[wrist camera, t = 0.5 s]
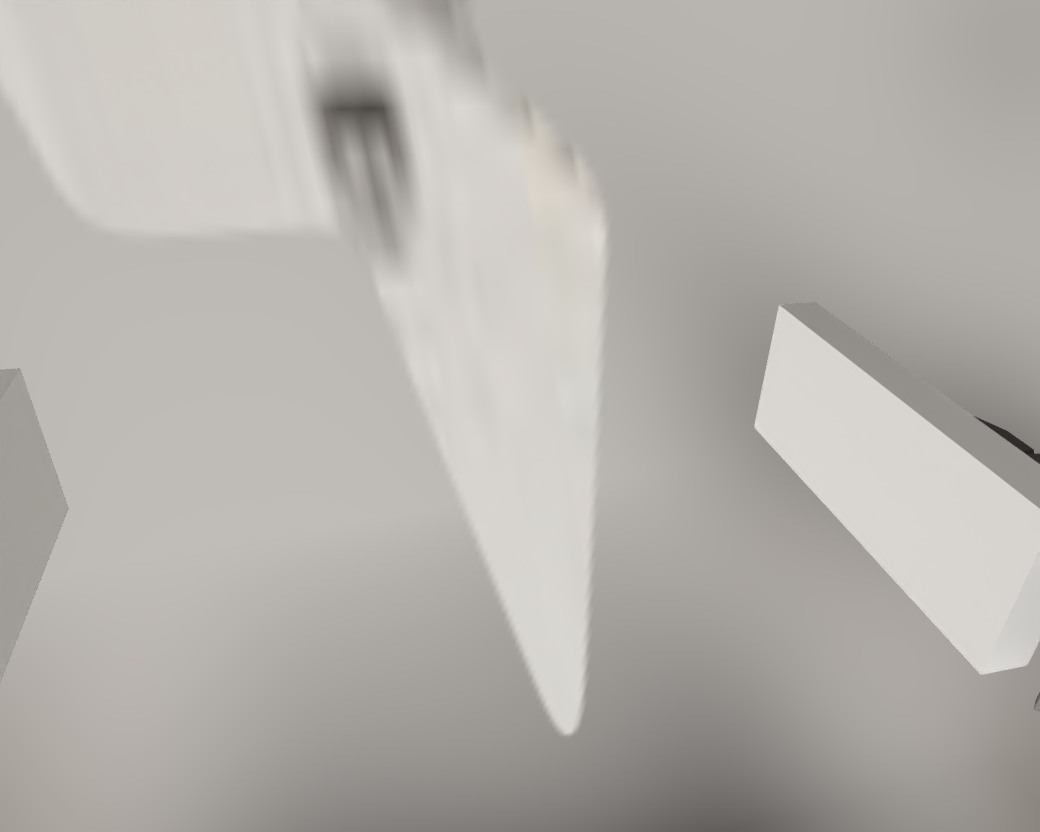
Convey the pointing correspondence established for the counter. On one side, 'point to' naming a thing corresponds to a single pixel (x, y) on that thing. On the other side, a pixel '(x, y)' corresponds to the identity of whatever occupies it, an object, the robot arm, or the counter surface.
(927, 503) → the robot arm
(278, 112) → the counter surface
